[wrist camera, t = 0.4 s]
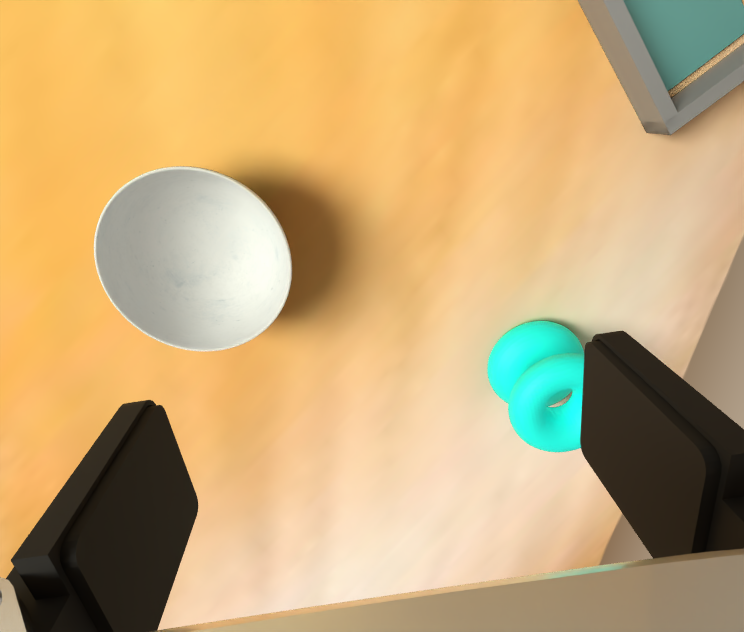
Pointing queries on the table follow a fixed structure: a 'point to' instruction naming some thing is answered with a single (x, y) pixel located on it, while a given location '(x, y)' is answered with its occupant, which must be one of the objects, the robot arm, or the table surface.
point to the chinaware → (193, 258)
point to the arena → (669, 53)
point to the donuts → (540, 383)
